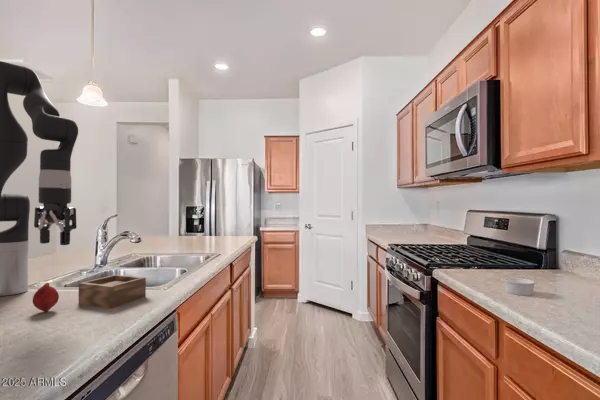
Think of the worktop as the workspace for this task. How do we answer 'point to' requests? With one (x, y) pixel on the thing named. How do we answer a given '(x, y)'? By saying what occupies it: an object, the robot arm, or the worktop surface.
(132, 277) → the wooden box
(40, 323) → the worktop surface
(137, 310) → the worktop surface
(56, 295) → the onion
